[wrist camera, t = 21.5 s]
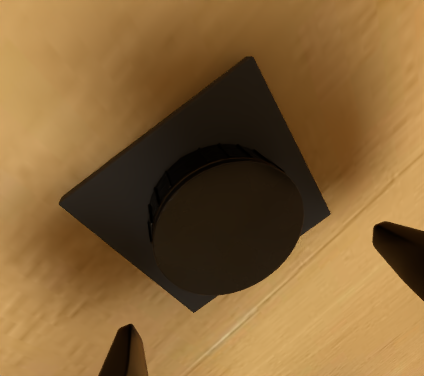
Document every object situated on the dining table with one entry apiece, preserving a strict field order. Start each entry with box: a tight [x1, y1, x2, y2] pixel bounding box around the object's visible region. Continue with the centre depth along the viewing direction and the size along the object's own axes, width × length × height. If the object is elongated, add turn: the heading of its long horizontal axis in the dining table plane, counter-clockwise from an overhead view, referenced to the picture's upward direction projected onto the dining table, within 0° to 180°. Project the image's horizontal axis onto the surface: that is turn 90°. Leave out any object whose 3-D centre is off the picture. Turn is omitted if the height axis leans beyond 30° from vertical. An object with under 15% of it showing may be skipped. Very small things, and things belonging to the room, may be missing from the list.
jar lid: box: [147, 143, 304, 296], centre depth 13 cm, size 7×7×2 cm
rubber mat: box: [59, 56, 331, 313], centre depth 14 cm, size 10×10×1 cm
